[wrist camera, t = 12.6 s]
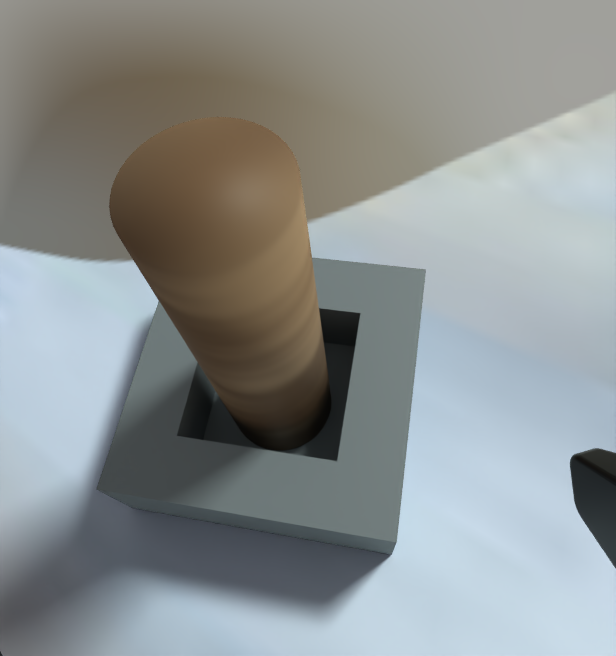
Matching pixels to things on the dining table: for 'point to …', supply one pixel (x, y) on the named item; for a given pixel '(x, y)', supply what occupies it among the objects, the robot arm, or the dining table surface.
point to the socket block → (284, 465)
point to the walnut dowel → (232, 268)
